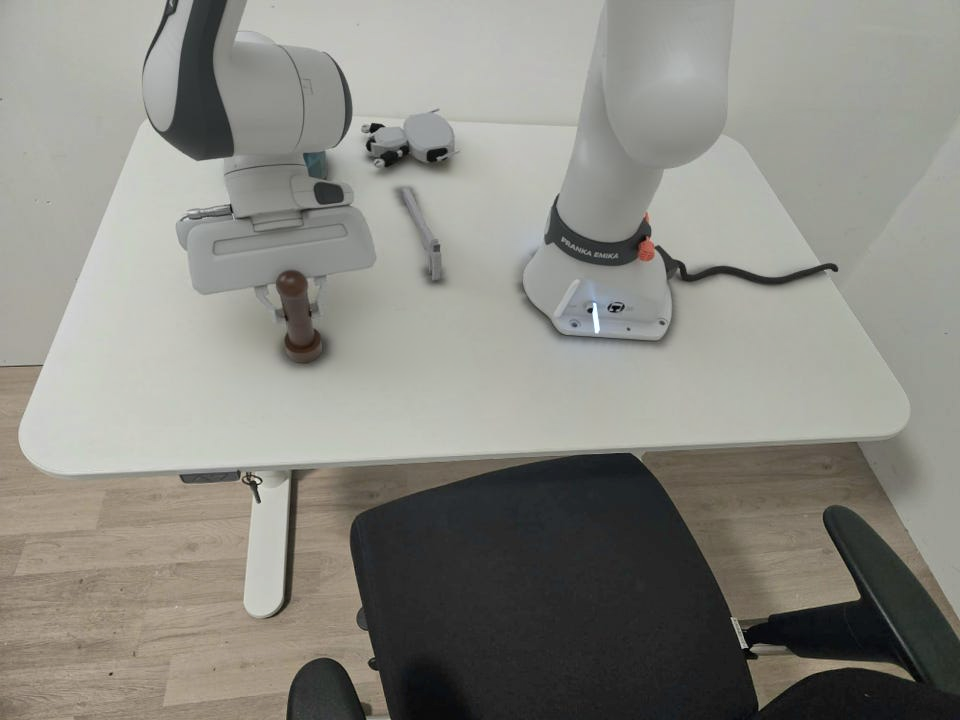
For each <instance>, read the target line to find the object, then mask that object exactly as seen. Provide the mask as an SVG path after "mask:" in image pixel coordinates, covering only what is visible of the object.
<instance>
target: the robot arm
mask: <svg viewBox="0 0 960 720" xmlns="http://www.w3.org/2000/svg"><path fill="white" fill-rule="evenodd" d="M165 2H166V3H165V6H164V10H163V13H162V17H161V20H160V23H159V24H158V27H157V29H156V32H155V34H154V37H153V38H152V41H151V43H150V45H149V47H148V49H147V52H146V55H145V58H144V61H143V66H142V74H141V91H142V92H141V93H142V99H143V105H144V109H145V113H146V116H147V119H148V121H149V123H150V125H151V127H152V128H153V130H154V131H155V132H156V133H157V134H158V135H159V136H160V137H161V138H162V139H163V140H164V141H166V142H167V143H168V144H169V145H170V146H172V147H173V148H175V149H176V150H177V151H179V152H181V153H182V154H183V155H185V156H187V157H189V158H190V159H192V160H194V161H196V162H201V161H202V162H203V161H212V160H217V159H223V168H222V169H223V177H224V181H225V186H226V190H227V194H228V198H229V202H230V203H229V204H228V203H227V204H221V205H214V206H210V207H205V208H200V207H197V208H191V209H188V210H186V213H183V214H182V215H181V216H179V217H178V219H177V221H176V222H175V223H176V224H175V232H176V236H177V240H178V243H179V245H180V247H181V248H182V249H183V250H184V251H186V252H187V263H188V270H189V276H190V282H191V285H192V288H193V290H194V291H195V292H197V293H198V294H199V295H201V296H208V295H215V294H220V293H228V292H232V291H238V290H244V289H245V290H246V289H252V288H253V289H254V293H255V299H257V300H258V301H259V302H260V303H261V304H262V306H264V307H265V308H266V310H268V311H269V313H270V317H271V322H272V325H273V326H277V325H283V324H286V319H285V316H284V311H283V308H282V306H280V307H275V306H274V305H273V304H272V302H271V301H270V299H268V298H267V297H266V296H269V294H270V292H269V288H268V285H276V280H277V277H278V276H279V275H280V274H281V273H282V272H283V271H286V270H291V269H292V270H297V271H299V272H301V273H302V274H303V275H304V276H305V277H306V279H312V280H313V284H314V286H315V287H316V288H318V290H317V293H316V296H315V299H314V301H309V304H310V310H311V317H312V319H315V318H320V317H325V311H324V304H323V301H324V299H325V296H326V293H327V290H328V287H329V282H328V278H327V276H330V275H336V274H342V273H349V272H353V271H354V272H355V271H360V270H366V269H371V268H373V266H374V265H375V263H376V261H377V253H376V248H375V244H374V239H373V236H372V233H371V231H370V227H369V224H368V221H367V220H366V218H365V215H364V214H363V212H362V211H360V209H359V208H357V207H355V206H353V205H352V204H353V203H354V200H355V195H354V190H353V187H352V186H351V185H350V184H347V183H344V182H338V181H333V180H328V179H324V180H323V179H318V178H313V177H309V174H308V169H307V165H306V163H305V161H304V158H303V153H314V152H321V151H325V150H326V151H327V150H331V149H334V148H336V147H337V146H338V145H339V144H340V143H341V142H342V141H343V140H344V138H345V137H346V135H348V132H349V129H350V127H351V124H352V121H353V112H354V109H353V107H354V106H353V99H352V98H353V97H352V94H351V90H350V86H349V83H348V80H347V78H346V75H345V74H344V71H343V70H342V68H341V66H340V65H339V64H338V62H337V61H336V60H335V59H334V58H333V57H332V56H331V55H330V53H329V54H328V52H325V51H320V50H318V49H315V48H311V47H305V46H297V45H289V44H288V45H287V44H279V43H276V42H275V41H274V39H272V38H270V36H267V35H265V34H262V33H260V32H256V31H251V30H239V28H240V24H241V21H242V19H243V15H244V13H245V10H246V6H247V3H248V0H165ZM735 4H736V0H605V1H604V3H603V5H602V7H601V11H600V15H599V19H598V23H597V24H598V25H597V28H596V29H597V30H596V35H595V40H594V44H593V48H592V53H591V57H590V63H589V66H588V71H587V75H586V80H585V85H584V89H583V95H582V99H581V105H580V109H579V116H578V120H577V121H578V122H577V127H576V133H575V138H574V144H573V148H572V151H571V156H570V159H569V162H568V165H567V168H566V172H565V174H564V178H563V181H562V185H561V188H560V192H559V193H557V194H556V196H555V198H554V200H553V202H552V206H550V209H549V212H548V216H547V219H546V222H545V226H544V230H543V234H544V235H543V239H542V241H541V243H540V245H539V247H538V249H537V251H536V252H535V254H533V255H534V256H533V257H532V258H531V260H530V261H529V262H528V263H527V264H526V265H525V267H524V270H523V274H522V285H523V289H524V291H525V294H526V296H527V297H528V299H529V300H530V301H531V303H532V304H533V306H535V307H536V308H537V309H538V310H539V311H541V313H543V314H544V315H546V316H547V317H548V318H549V319H550V321H551V323H552V324H553V326H554V327H555V329H556V330H557V331H558V332H559V333H560V334H562V335H566V336H577V337H579V336H580V337H593V338H610V339H624V340H638V341H639V340H641V341H660V340H661V339H662V338H663V337H664V336H665V334H666V332H667V331H668V329H669V326H670V323H671V320H672V314H673V313H672V312H673V300H672V295H671V289H670V287H669V284H668V281H670V280H671V279H673V278H674V276H675V274H676V272H677V271H678V269H679V274H680V277H681V278H682V279H683V280H685V281H688V282H693V281H698V280H701V279H703V278H706V277H708V276H710V275H712V274H717V273H728V274H734V275H737V276H739V277H742V278H746V279H748V280H751V281H755V282H758V283H762V284H770V285H771V284H776V285H777V284H784V283H787V282H790V281H793V280H795V279H799V278H802V277H806V276H810V275H813V274H817V273H820V272H823V271H825V270H831V271H832V272H834V273H838V272H839V267H838V265H837V264H836V263H833V262H826V263H823V264H820V265H816V266H814V267H810V268H807V269H801V270H799V271H796V272H793V273H790V274H787V275H783V276H777V277H776V276H773V277H772V276H764V275H759V274H756V273H753V272H750V271H747V270H745V269H743V268H738V267H735V266H729V265H716V266H712V267H709V268H707V269H705V270H702V271H699V272H697V273H694V274H689V273H688V272H687V266H686V264H685V263H684V262H683V261H682V260H678V259H675V258H673V257H672V256H671V255H670V254H669V253H668V252H667V251H666V250H665V249H664V248H663V247H662V246H661V245H660V244H658V245H655V243H653V241H650V239H651V237H652V233H653V232H652V230H653V229H652V226H651V225H650V217H649V213H648V210H649V207H650V205H651V203H652V201H653V199H654V197H655V195H656V193H657V191H658V189H659V186H660V184H661V182H662V179H663V177H664V173H665V170H671V169H675V168H680V167H683V166H686V165H687V164H690V163H692V162H693V161H695V160H698V159H699V158H700V157H701V156H703V155H704V154H706V153H707V152H708V151H709V150H710V149H711V148H712V147H713V146H714V145H715V143H717V141H718V140H719V138H720V136H721V135H722V133H723V132H724V129H725V126H726V123H727V119H728V109H729V104H728V103H729V100H728V99H729V92H728V91H729V90H728V89H729V67H730V56H731V48H732V38H733V30H734V29H733V28H734V18H735V17H734V16H735ZM187 218H188V219H187ZM186 219H187V220H186Z"/></svg>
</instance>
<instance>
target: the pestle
mask: <svg viewBox="0 0 960 720" xmlns="http://www.w3.org/2000/svg"><path fill="white" fill-rule="evenodd" d="M275 289H276V293H278V295H279V299H280V303H281V307H282V308H283V311H284V316H285V319H286V323H285V325H286V329H287V333H286V334H285V336H284V340H283V342H284V347H285V351H286V355H287V356H288V357H289V359H290V360H292V361H293V362H295V363H300V364H303V363H304V364H305V363H311V362H313V361H315V360H317V359H318V358H319V357H320V355H322V352H323V342H322V336H321V333H320V332H319V331H318V330H317V329H316V328H315V327H314V323H313V318H312V317H311V309H310V304H309V302H310V298H309V294H308V293H309V292H308V289H309V282H308V278H306V277H305V276H304V275H303V274H302V273H301V272H299V271H297V270H292V269H291V270H286V271H283V272H282V273H281V274H280V275H279V276H278V277H277V280H276V284H275Z"/></svg>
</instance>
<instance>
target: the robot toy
mask: <svg viewBox="0 0 960 720" xmlns="http://www.w3.org/2000/svg"><path fill="white" fill-rule="evenodd" d="M440 110H441V108H439V107H437V108H435V109H433V110H430V111H428V112H424V113H423V112H422V113H417V114H411V115H409V117H407V118H405V120H404V122H403V126H402V127H403V128H401V126H386V125H384V124H383V123H377V122H371V123H370V125H369V124H368V123H366V124H362V125H361V128H360V131H361V132H362V133H364V134H369V135H368V140H367V141H366V143H365V148H366V150H367V151H368V152H370V153H371V155H372V156H373V157H374V158H375V159H374V160H373V164H372V165H373V166H374V167H375V168H377V169H382V168H389V167H391V166H393V165H395V164H396V163H397V160H398V159H399V158H401V157H402V158H403V157H407V156H409V155H410V154H411V156H412V157H414V158H415V159H416V160H418V161H420V162H423V163H426V164H429V163H436V162H437V163H438V162H442V161H447V160H449V158H451V157H452V156H453V155H457V154H460V152H461V149H457V150H455V144H456V143H455V142H456V139H455V138H456V137H455V133H454V128H453V127H452V125H450V124H449V122H448V121H447V120H446V119H445V118H444V117H442V116H441V115H440V114H437V112H439V111H440Z"/></svg>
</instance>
